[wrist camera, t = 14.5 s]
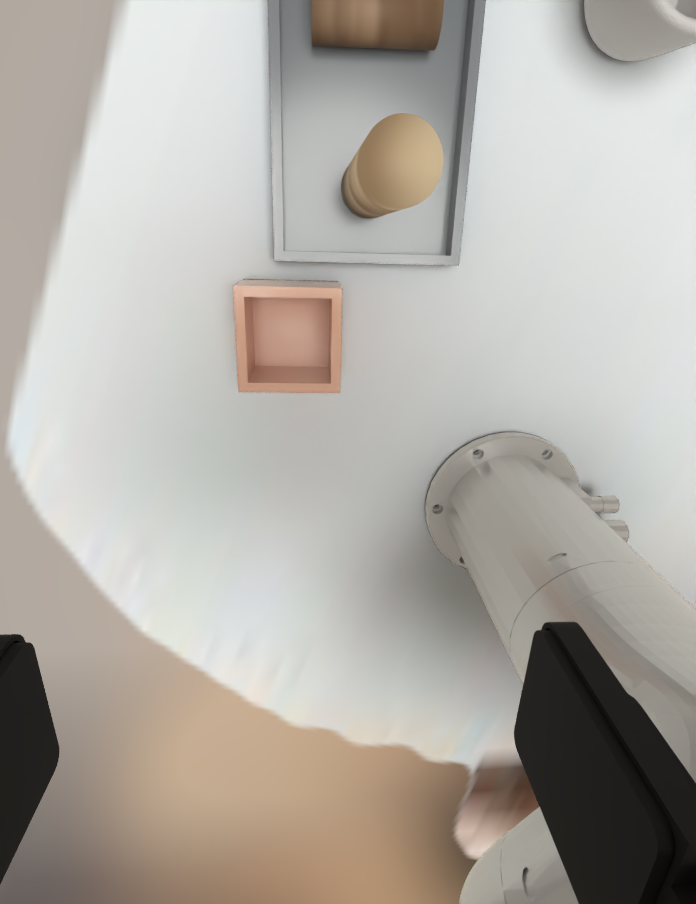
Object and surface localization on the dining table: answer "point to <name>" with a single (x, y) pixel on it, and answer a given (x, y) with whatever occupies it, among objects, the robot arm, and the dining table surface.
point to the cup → (640, 26)
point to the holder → (288, 335)
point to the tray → (347, 125)
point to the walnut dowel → (377, 23)
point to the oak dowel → (393, 167)
